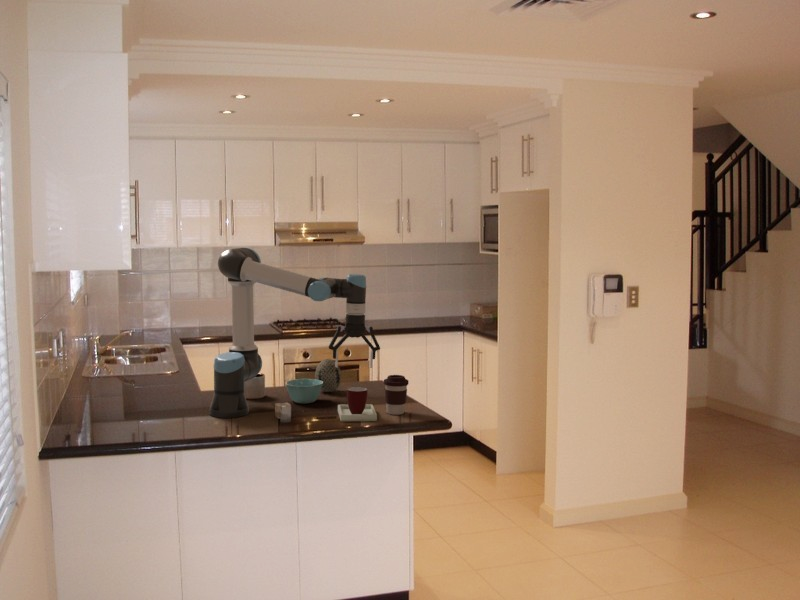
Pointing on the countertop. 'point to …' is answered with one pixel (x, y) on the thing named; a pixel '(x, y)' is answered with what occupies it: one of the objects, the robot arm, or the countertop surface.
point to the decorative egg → (328, 375)
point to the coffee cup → (395, 394)
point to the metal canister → (285, 413)
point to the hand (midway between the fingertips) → (353, 367)
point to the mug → (356, 399)
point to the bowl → (304, 390)
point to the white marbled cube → (277, 409)
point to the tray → (367, 414)
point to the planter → (255, 387)
